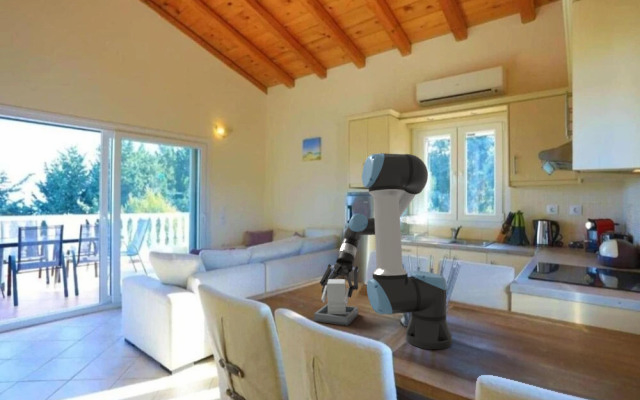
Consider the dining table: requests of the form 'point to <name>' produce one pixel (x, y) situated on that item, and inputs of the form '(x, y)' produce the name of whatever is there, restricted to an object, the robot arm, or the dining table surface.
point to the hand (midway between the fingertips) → (333, 302)
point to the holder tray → (336, 316)
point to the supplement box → (336, 296)
